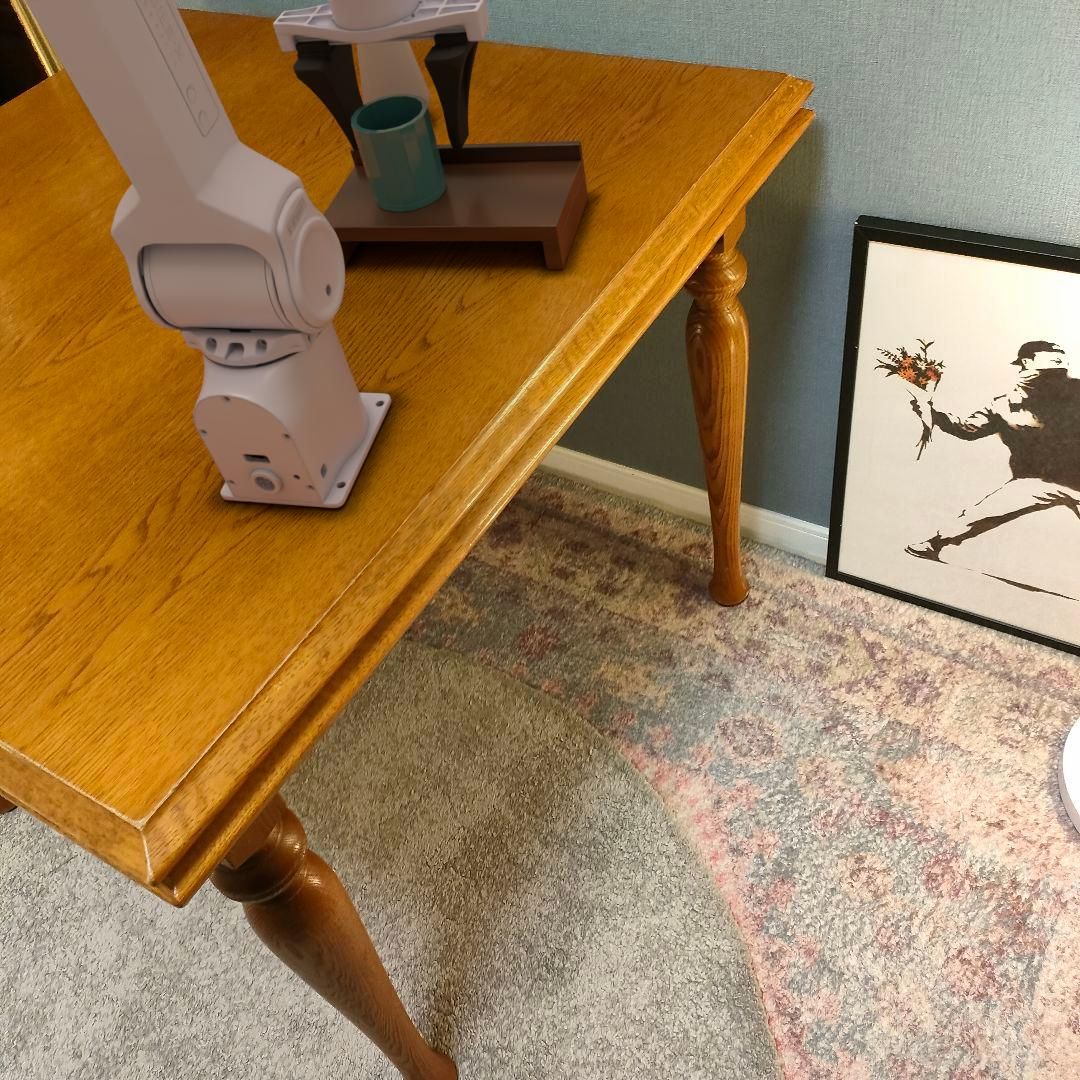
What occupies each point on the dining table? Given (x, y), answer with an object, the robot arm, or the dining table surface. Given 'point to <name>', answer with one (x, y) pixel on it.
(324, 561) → the dining table surface
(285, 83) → the dining table surface
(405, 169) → the cup
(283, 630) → the dining table surface
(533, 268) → the dining table surface
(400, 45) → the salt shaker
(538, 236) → the shelf
